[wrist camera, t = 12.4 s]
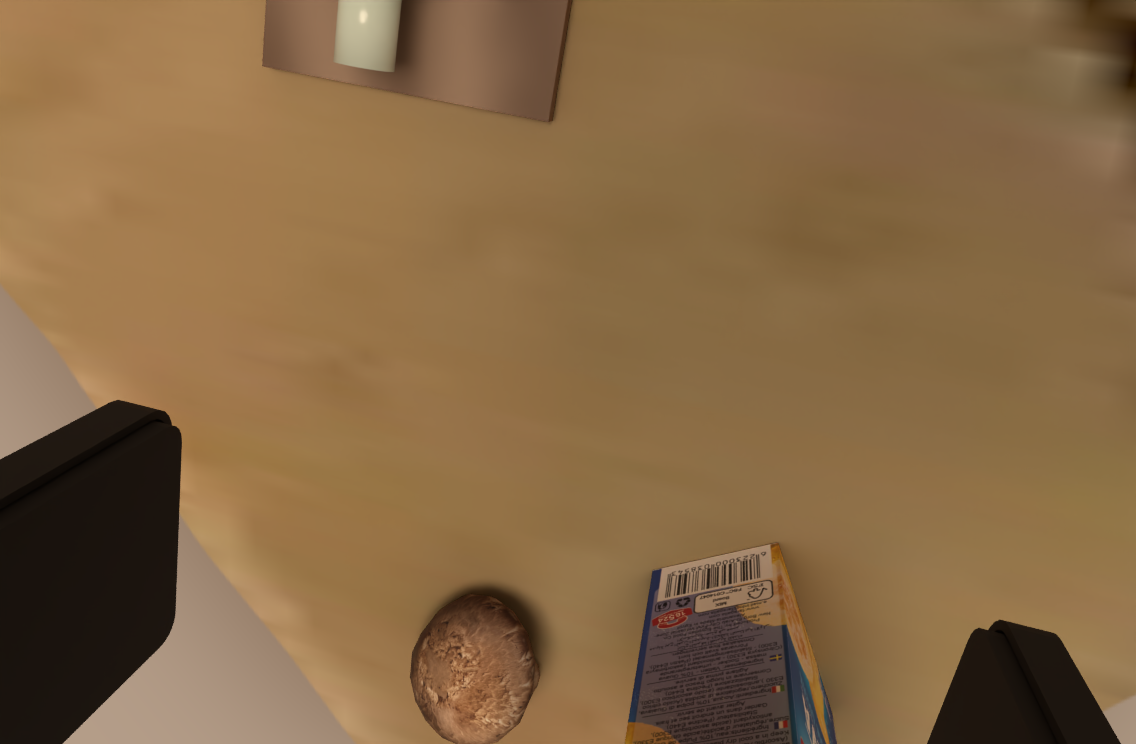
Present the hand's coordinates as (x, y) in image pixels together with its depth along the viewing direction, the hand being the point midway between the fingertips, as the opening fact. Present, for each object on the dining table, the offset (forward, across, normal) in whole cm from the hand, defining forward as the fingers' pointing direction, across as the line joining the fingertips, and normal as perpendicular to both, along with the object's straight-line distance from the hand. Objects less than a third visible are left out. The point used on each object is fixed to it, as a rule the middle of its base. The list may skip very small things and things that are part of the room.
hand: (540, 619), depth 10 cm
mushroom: (+34, +6, +26) cm, 44 cm away
